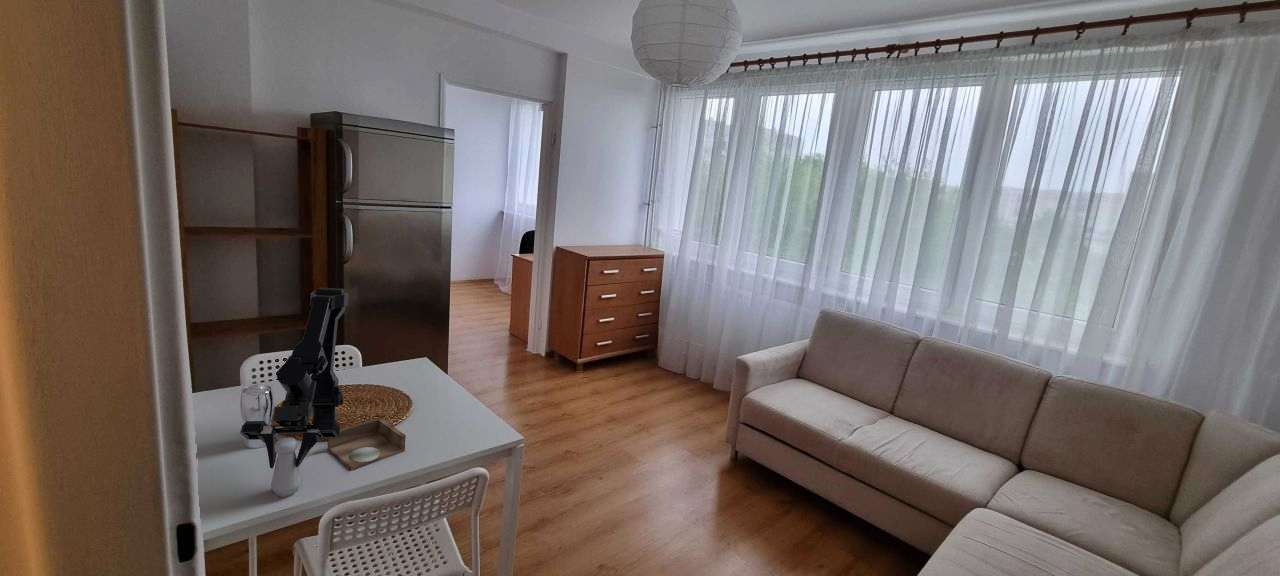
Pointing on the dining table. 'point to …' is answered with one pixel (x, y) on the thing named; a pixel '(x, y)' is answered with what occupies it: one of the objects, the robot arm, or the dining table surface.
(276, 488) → the salt shaker
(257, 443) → the beer glass
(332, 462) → the dining table surface
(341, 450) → the corner tray
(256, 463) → the dining table surface
